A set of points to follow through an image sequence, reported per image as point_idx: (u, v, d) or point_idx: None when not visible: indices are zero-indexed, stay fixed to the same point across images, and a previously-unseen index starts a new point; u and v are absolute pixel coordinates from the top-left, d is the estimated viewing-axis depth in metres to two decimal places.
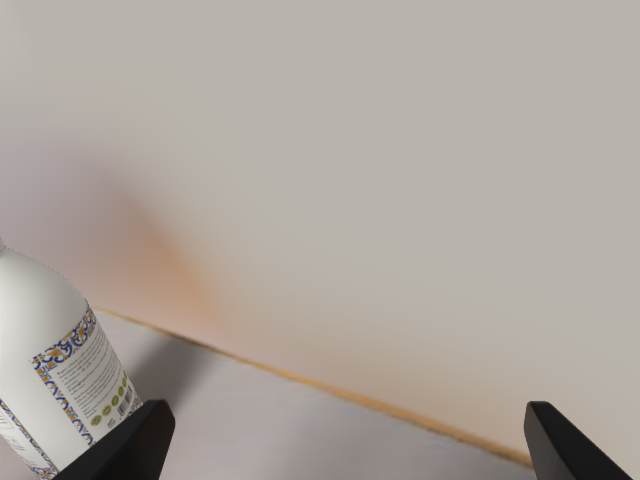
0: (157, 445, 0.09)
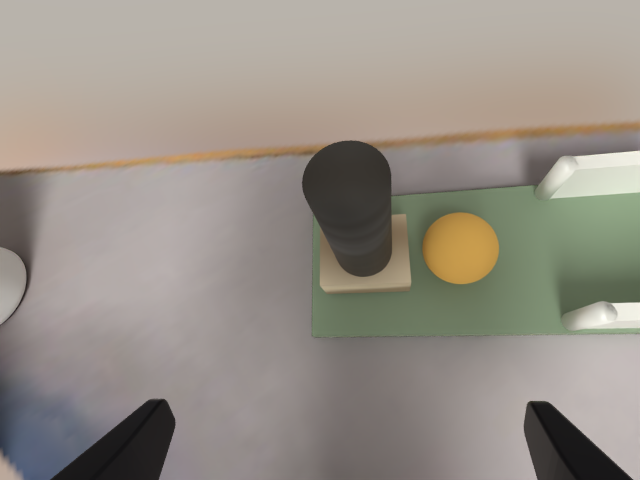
0: (157, 445, 0.09)
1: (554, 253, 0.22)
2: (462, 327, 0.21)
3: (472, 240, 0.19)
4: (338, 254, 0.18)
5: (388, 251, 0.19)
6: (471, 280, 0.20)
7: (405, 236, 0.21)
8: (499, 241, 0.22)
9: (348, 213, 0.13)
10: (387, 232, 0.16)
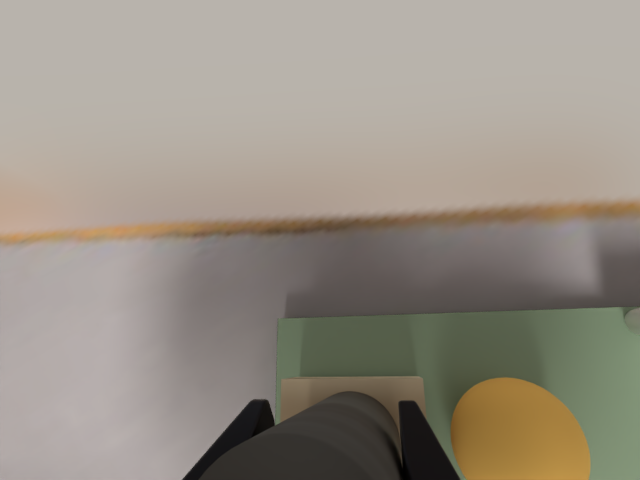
0: None
1: None
2: None
3: (550, 466, 0.10)
4: None
5: None
6: None
7: None
8: (572, 405, 0.14)
9: None
10: None
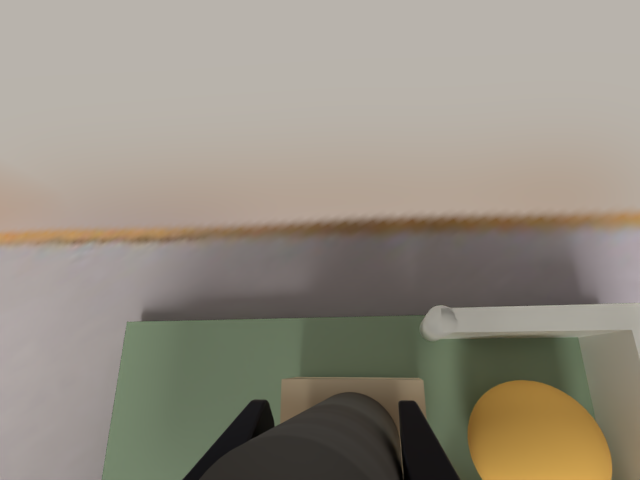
0: None
1: (438, 432, 0.14)
2: None
3: None
4: None
5: None
6: None
7: None
8: None
9: None
10: None
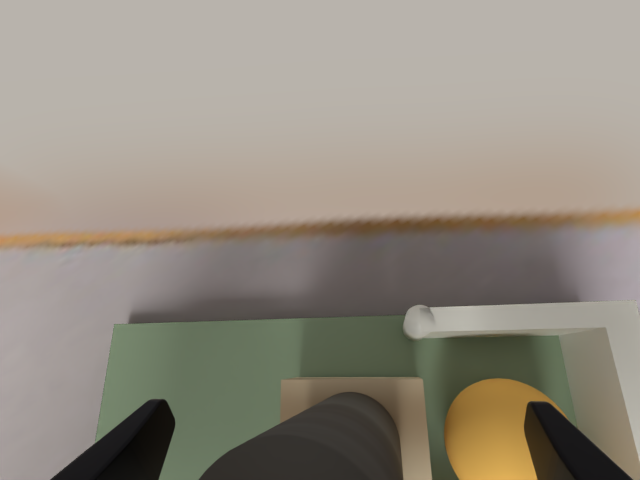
0: (157, 445, 0.09)
1: None
2: None
3: None
4: None
5: None
6: None
7: (423, 422, 0.12)
8: None
9: None
10: None
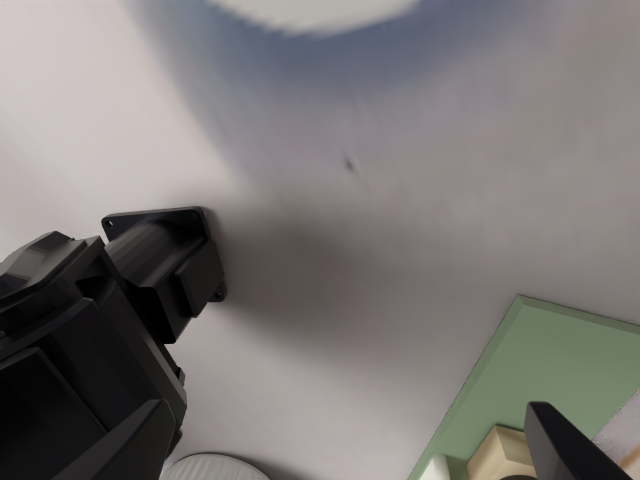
0: (157, 445, 0.09)
1: None
2: (467, 407, 0.25)
3: None
4: None
5: None
6: None
7: None
8: None
9: None
10: None
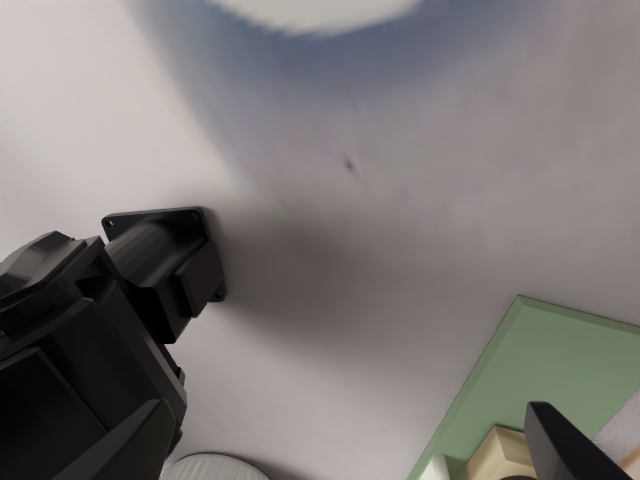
0: (157, 445, 0.09)
1: None
2: (466, 407, 0.25)
3: None
4: None
5: None
6: None
7: None
8: None
9: None
10: None
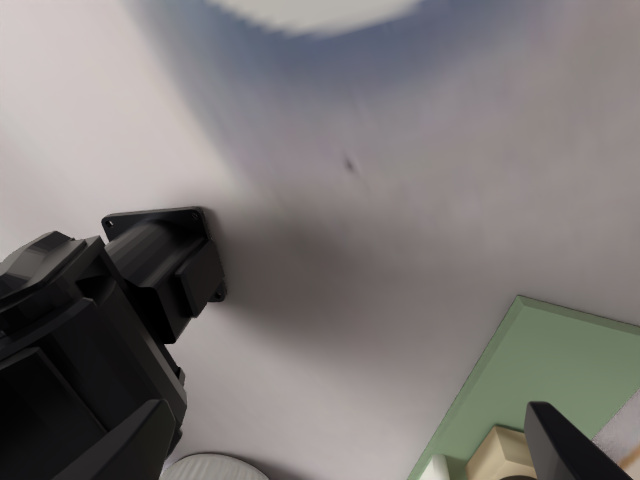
0: (157, 445, 0.09)
1: None
2: (466, 407, 0.25)
3: None
4: None
5: None
6: None
7: None
8: None
9: None
10: None
